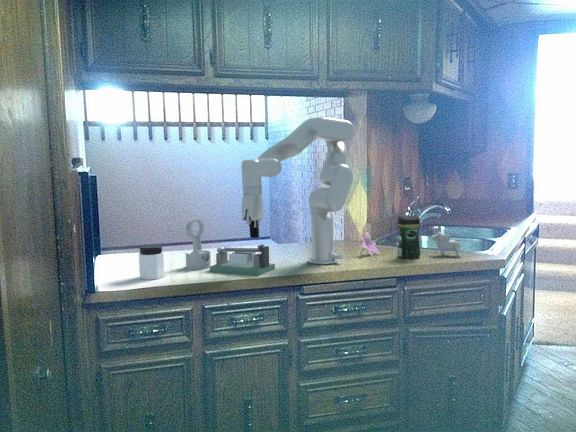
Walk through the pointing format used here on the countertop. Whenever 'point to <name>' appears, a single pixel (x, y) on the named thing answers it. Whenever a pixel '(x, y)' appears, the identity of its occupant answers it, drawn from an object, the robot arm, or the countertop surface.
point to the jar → (151, 262)
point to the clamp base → (241, 270)
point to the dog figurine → (446, 243)
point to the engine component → (197, 249)
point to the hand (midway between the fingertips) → (254, 237)
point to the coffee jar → (408, 237)
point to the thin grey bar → (240, 249)
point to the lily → (369, 244)
